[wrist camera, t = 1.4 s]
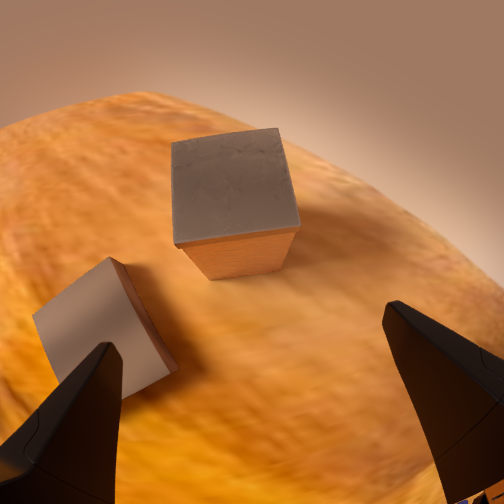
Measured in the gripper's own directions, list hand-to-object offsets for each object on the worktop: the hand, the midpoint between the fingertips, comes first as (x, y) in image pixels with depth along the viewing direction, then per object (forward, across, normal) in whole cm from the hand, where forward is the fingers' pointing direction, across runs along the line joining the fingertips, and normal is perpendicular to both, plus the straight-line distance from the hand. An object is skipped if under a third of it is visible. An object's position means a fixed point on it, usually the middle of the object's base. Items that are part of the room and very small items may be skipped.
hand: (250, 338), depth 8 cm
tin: (+14, 0, +4) cm, 15 cm away
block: (+10, +13, +9) cm, 19 cm away
